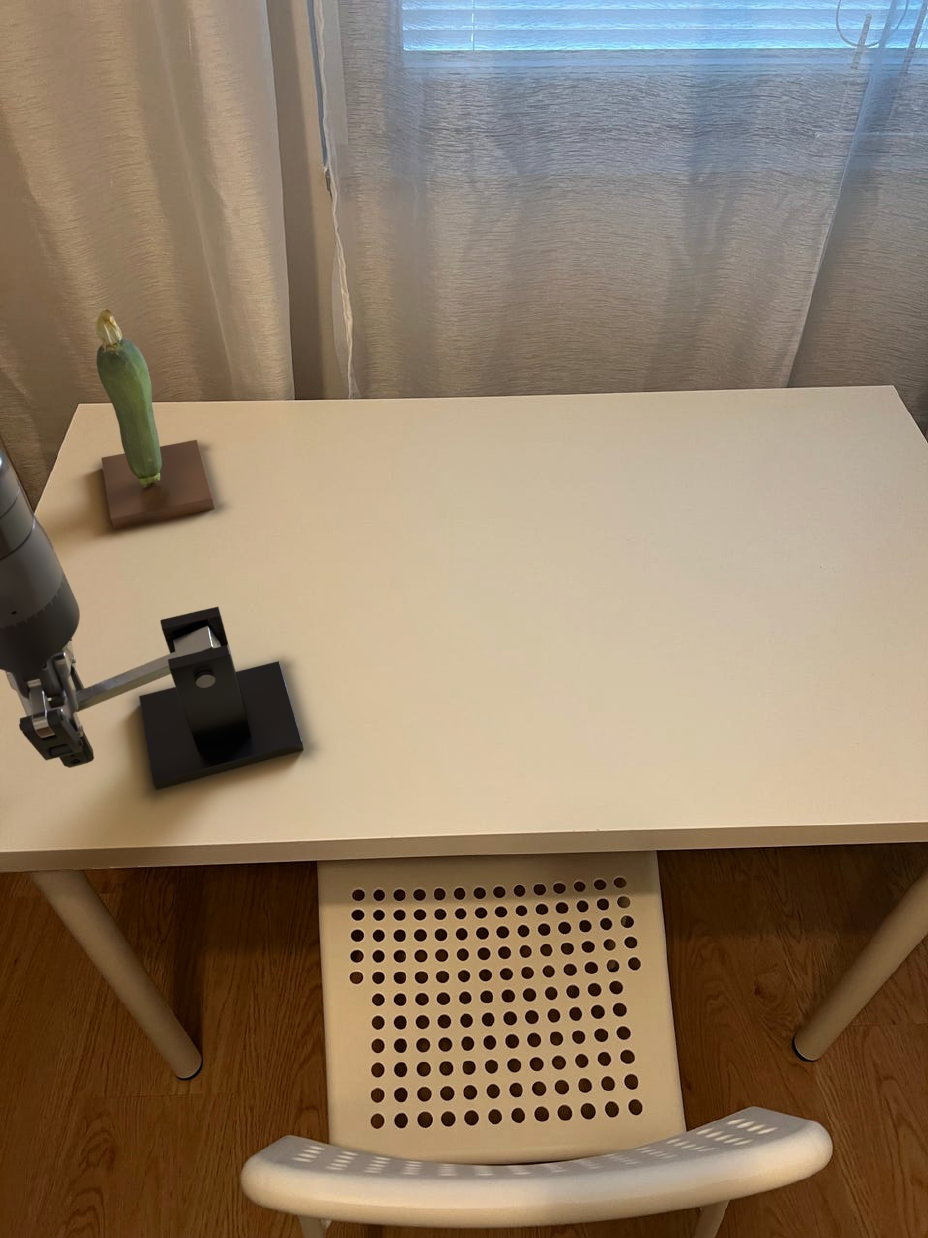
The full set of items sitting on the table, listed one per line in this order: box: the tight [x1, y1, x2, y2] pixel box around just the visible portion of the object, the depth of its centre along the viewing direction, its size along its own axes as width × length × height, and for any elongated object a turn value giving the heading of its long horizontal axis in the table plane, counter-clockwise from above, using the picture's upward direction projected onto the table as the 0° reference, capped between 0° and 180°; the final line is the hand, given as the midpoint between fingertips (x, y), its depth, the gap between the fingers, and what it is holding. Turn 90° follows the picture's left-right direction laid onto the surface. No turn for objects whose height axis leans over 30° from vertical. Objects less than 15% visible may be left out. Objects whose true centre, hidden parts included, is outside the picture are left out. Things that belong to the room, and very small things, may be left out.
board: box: [101, 439, 216, 530], centre depth 98 cm, size 10×10×2 cm
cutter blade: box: [50, 626, 221, 720], centre depth 71 cm, size 13×5×2 cm, turn 109°
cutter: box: [138, 606, 305, 791], centre depth 74 cm, size 12×9×12 cm
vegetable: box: [95, 308, 162, 488], centre depth 89 cm, size 4×4×20 cm
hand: (76, 730), depth 73 cm, fingers closed on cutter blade, 5 cm apart
